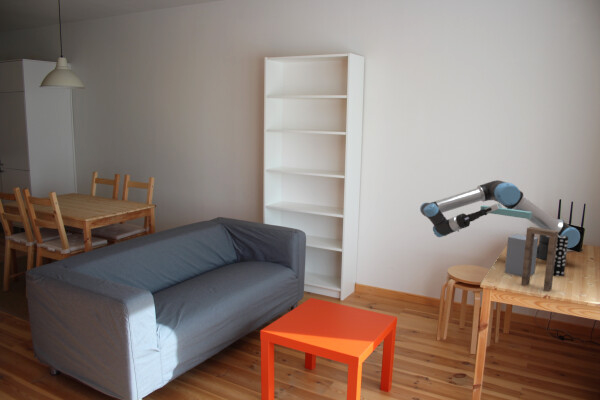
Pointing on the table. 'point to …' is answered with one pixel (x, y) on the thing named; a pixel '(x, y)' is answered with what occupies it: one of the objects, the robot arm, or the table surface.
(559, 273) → the white-spotted black cylinder
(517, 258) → the block
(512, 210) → the bar
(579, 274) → the table surface
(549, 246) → the stand
